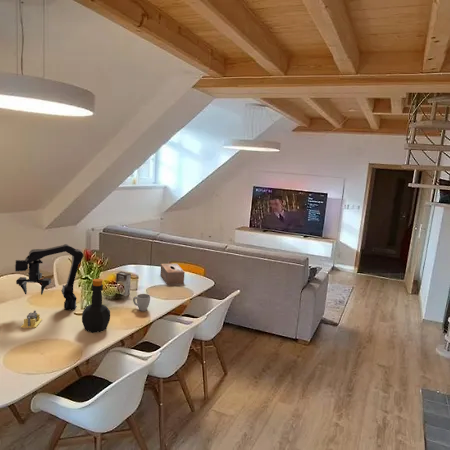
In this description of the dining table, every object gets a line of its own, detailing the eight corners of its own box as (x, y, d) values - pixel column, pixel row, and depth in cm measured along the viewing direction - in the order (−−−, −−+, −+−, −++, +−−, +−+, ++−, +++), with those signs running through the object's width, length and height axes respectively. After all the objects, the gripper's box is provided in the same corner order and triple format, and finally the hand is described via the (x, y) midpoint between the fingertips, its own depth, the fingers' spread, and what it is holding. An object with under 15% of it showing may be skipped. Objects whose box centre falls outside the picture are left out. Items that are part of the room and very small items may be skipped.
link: (37, 320, 227) (37, 312, 226) (34, 324, 222) (34, 316, 221) (29, 320, 226) (29, 312, 225) (26, 324, 221) (26, 316, 220)
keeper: (42, 320, 230) (42, 310, 229) (36, 327, 219) (36, 318, 218) (27, 319, 228) (27, 310, 228) (21, 327, 218) (21, 317, 217)
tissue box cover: (183, 283, 321) (184, 272, 319) (166, 284, 316) (167, 272, 314) (176, 274, 344) (177, 263, 343) (160, 274, 339) (161, 263, 337)
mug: (151, 308, 262) (152, 295, 260) (145, 312, 254) (146, 299, 252) (135, 305, 265) (136, 292, 263) (129, 309, 256) (130, 296, 255)
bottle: (87, 321, 233) (88, 274, 228) (114, 324, 233) (116, 277, 228) (76, 333, 217) (77, 282, 212) (105, 335, 217) (107, 285, 212)
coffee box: (114, 294, 282) (115, 273, 280) (119, 291, 288) (120, 271, 286) (125, 296, 280) (126, 275, 277) (130, 293, 286) (131, 273, 283)
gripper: (53, 267, 244) (53, 290, 246) (22, 265, 241) (22, 289, 243) (48, 272, 233) (48, 296, 235) (15, 271, 230) (15, 295, 232)
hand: (33, 294), depth 237 cm, fingers open, 9 cm apart
